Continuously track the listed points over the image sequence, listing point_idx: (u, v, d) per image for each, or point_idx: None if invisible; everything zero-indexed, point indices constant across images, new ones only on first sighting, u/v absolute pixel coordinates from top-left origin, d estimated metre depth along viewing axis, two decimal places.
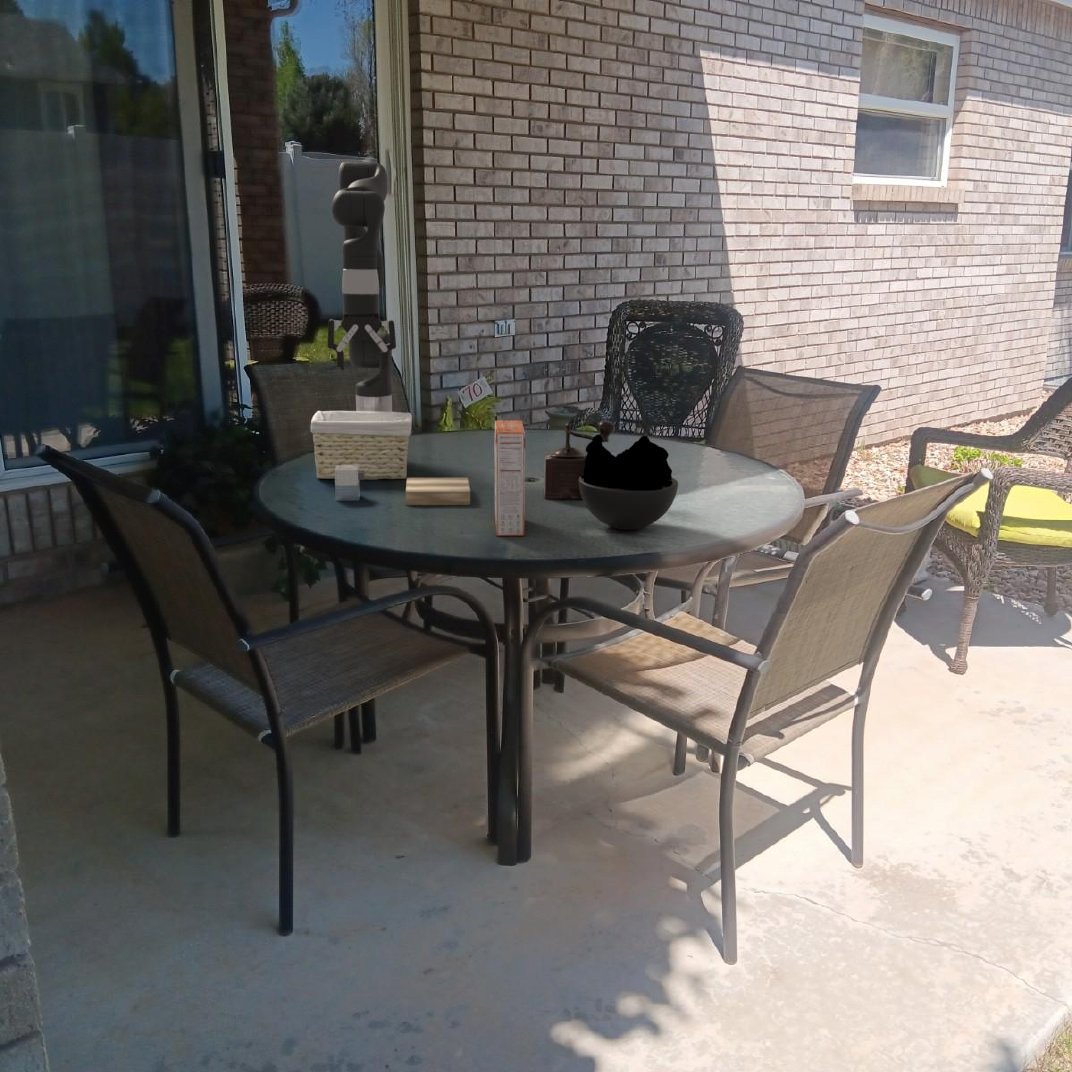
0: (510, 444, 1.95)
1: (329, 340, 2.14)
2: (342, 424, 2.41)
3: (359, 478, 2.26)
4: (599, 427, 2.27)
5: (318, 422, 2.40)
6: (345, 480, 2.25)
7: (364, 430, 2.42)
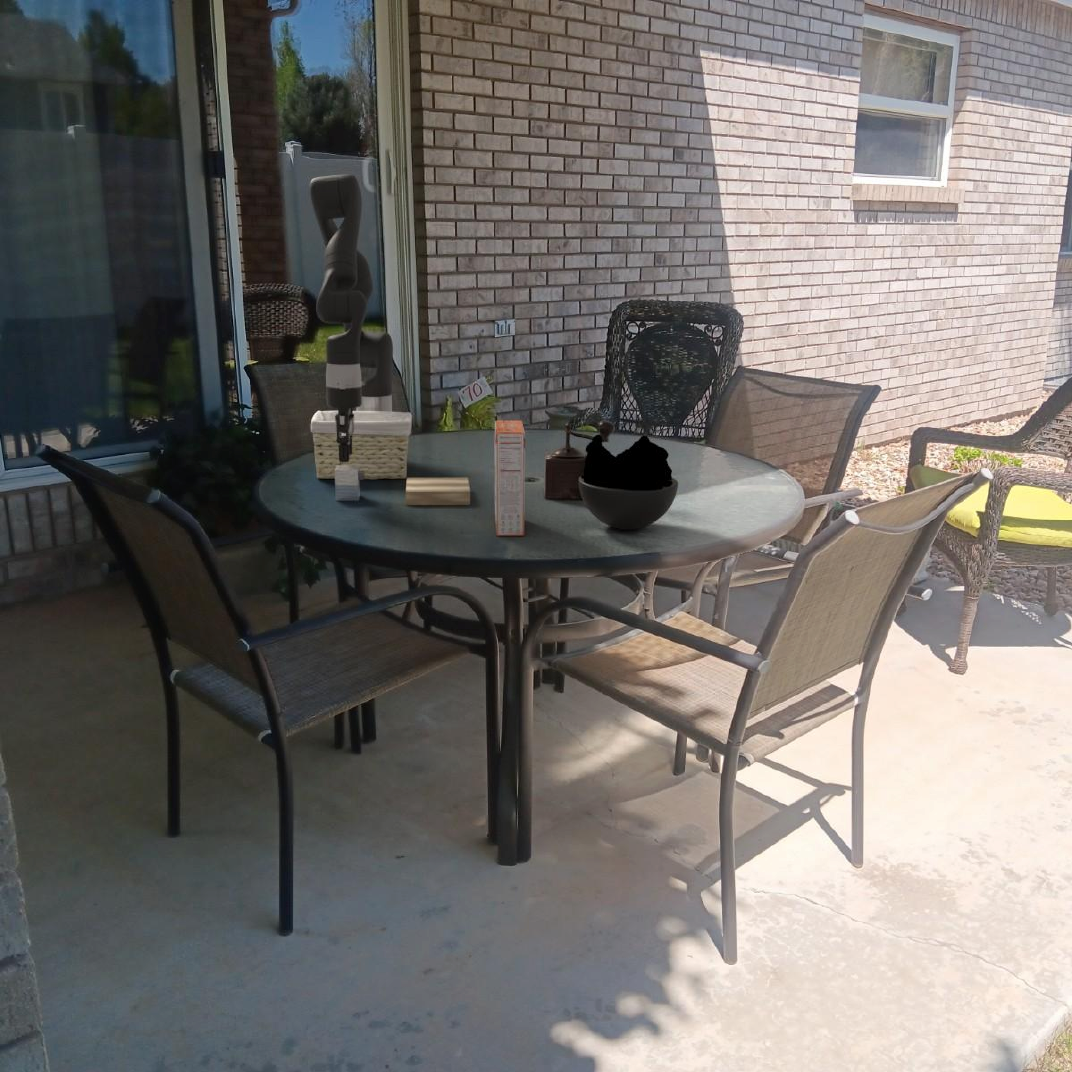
0: (510, 444, 1.95)
1: (348, 435, 2.18)
2: None
3: (359, 478, 2.26)
4: (599, 427, 2.27)
5: (318, 422, 2.40)
6: (345, 480, 2.25)
7: (364, 430, 2.42)
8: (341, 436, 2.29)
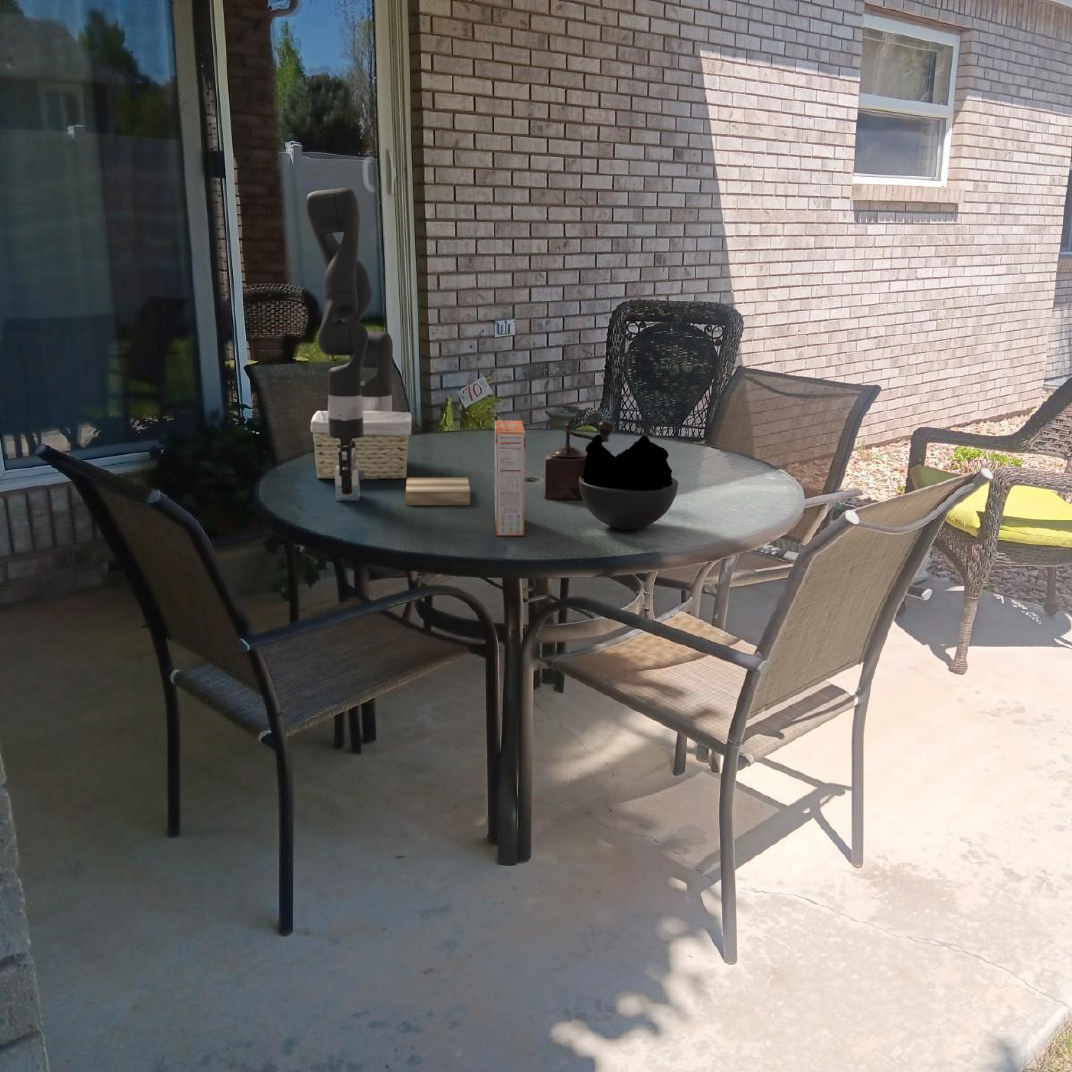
0: (510, 444, 1.95)
1: (350, 469, 2.21)
2: None
3: (359, 478, 2.26)
4: (599, 427, 2.27)
5: (318, 422, 2.40)
6: None
7: (364, 429, 2.42)
8: None
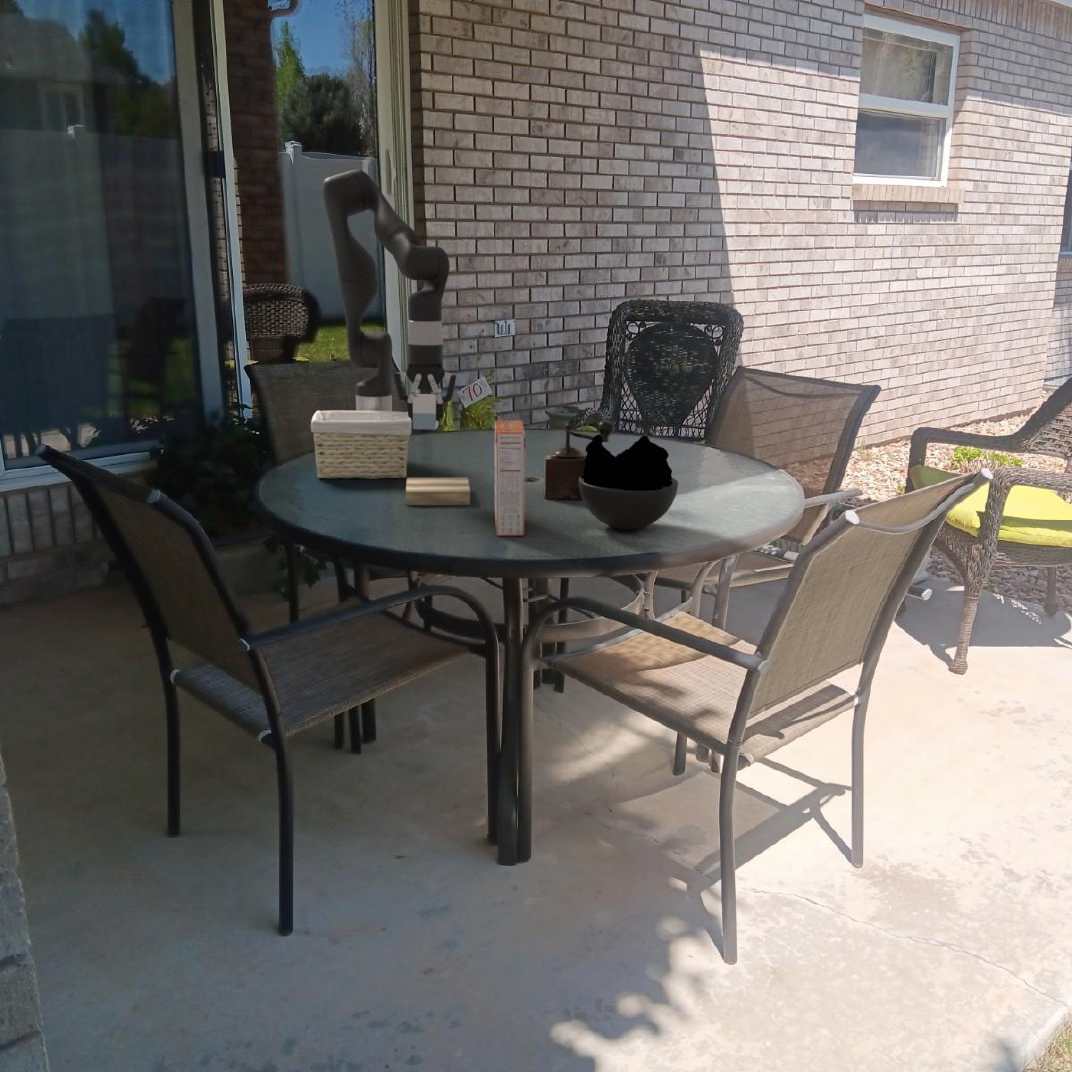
0: (510, 444, 1.95)
1: None
2: (342, 423, 2.41)
3: None
4: (599, 427, 2.27)
5: (319, 422, 2.41)
6: (436, 407, 2.24)
7: (365, 429, 2.43)
8: (412, 401, 2.23)
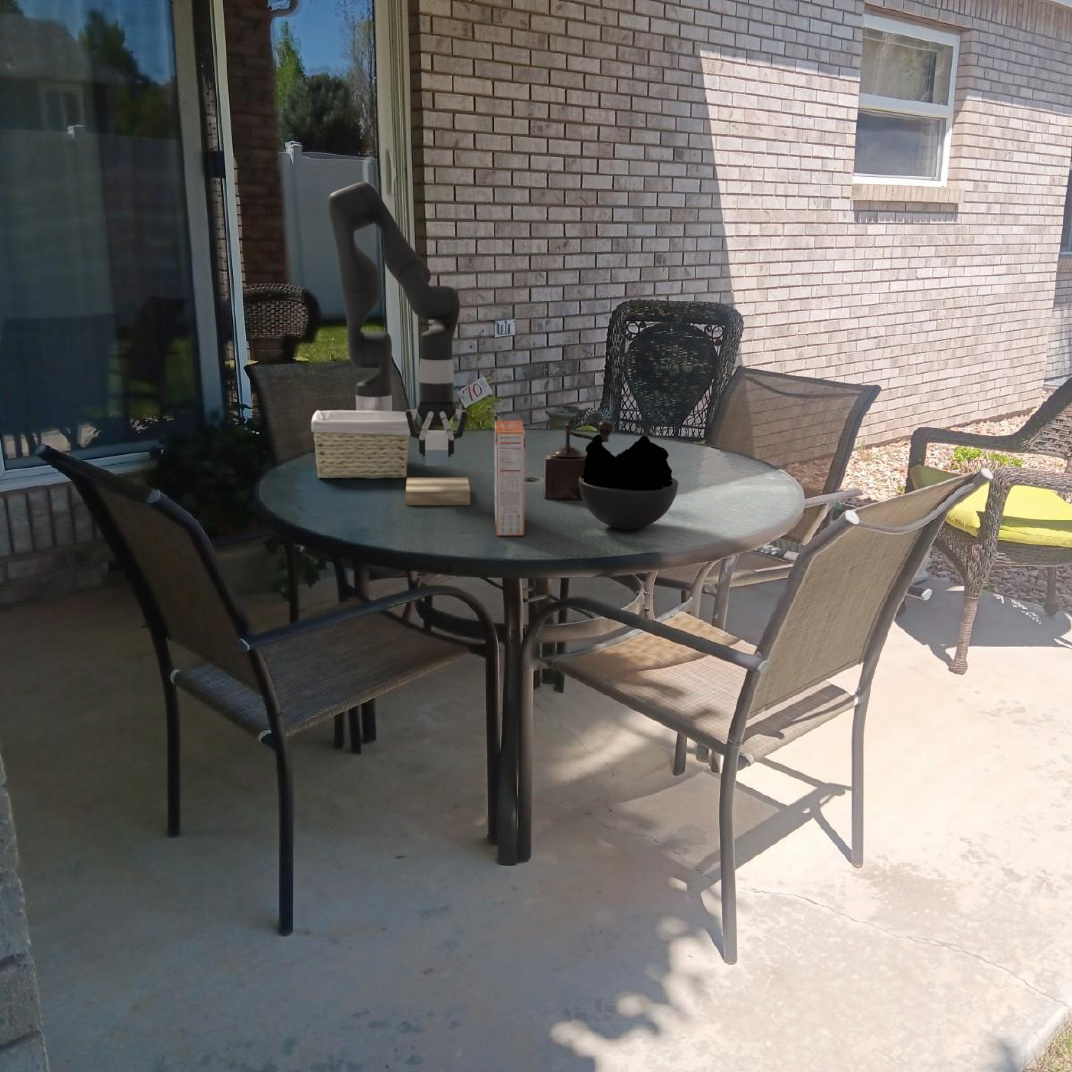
0: (510, 444, 1.95)
1: None
2: (343, 423, 2.41)
3: None
4: (599, 427, 2.27)
5: (319, 422, 2.41)
6: None
7: (365, 429, 2.43)
8: (424, 438, 2.25)
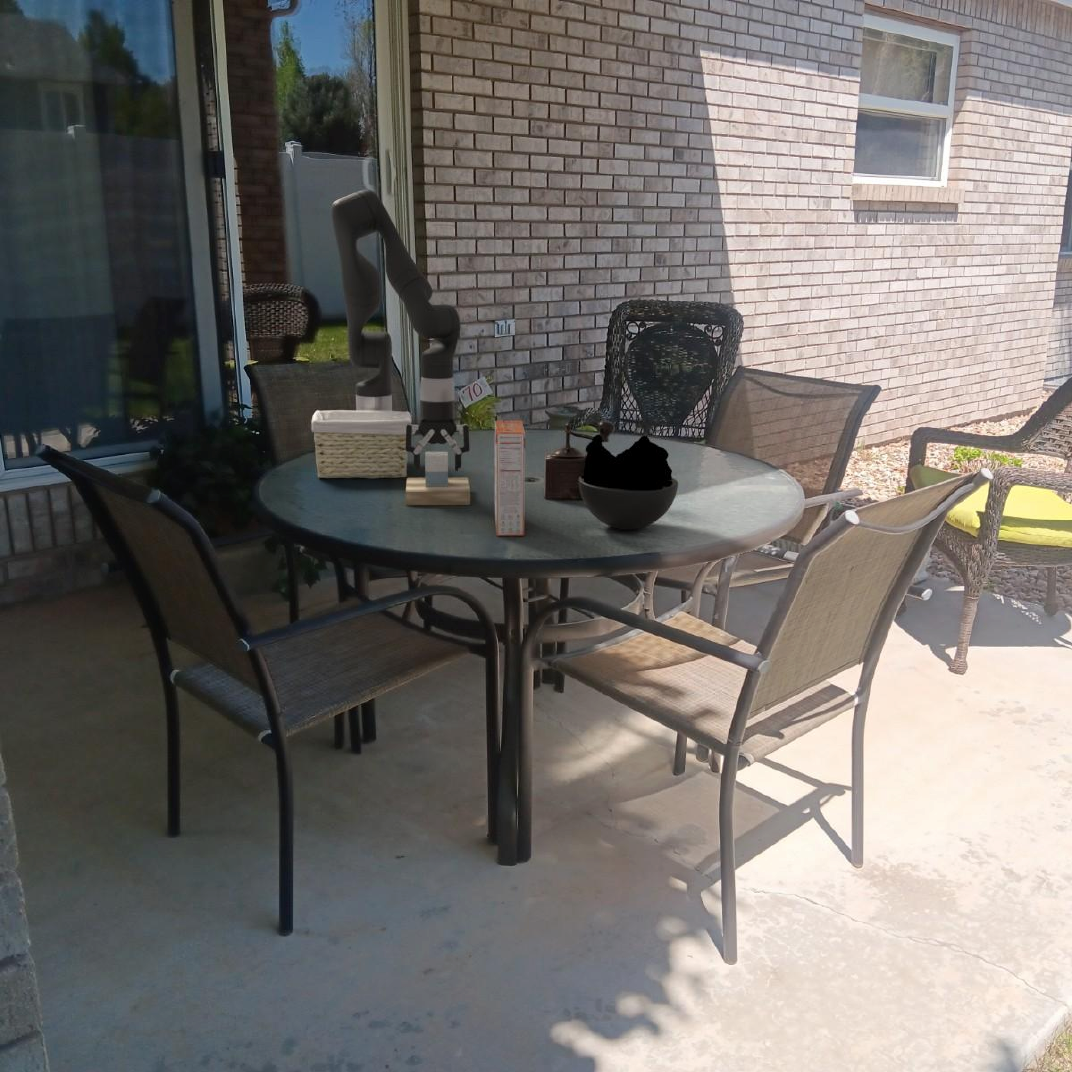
0: (510, 444, 1.95)
1: None
2: (343, 423, 2.42)
3: None
4: (599, 427, 2.27)
5: (319, 421, 2.41)
6: None
7: (365, 429, 2.43)
8: (418, 453, 2.26)
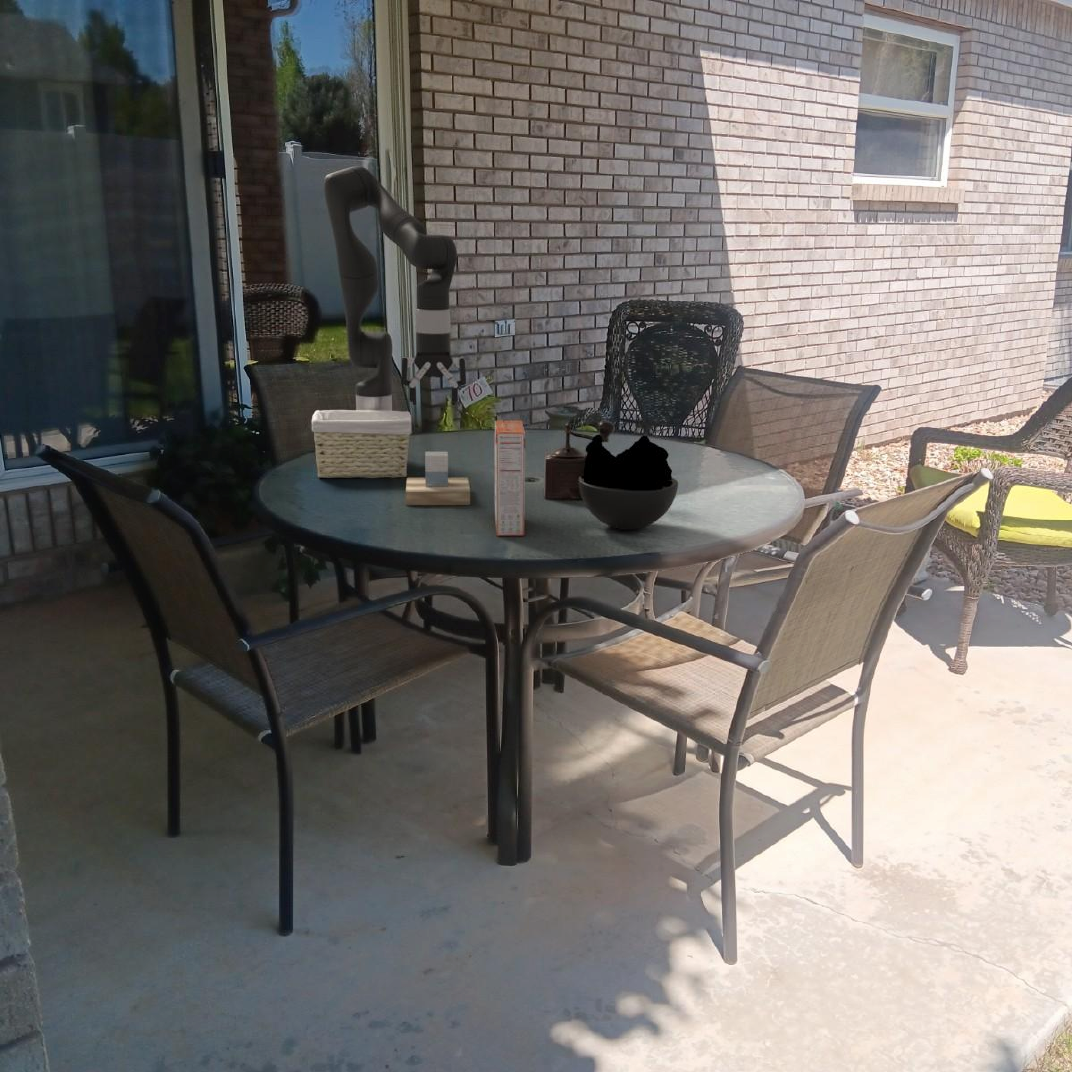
0: (510, 444, 1.95)
1: None
2: (343, 423, 2.42)
3: None
4: (599, 427, 2.27)
5: (319, 421, 2.41)
6: None
7: (365, 429, 2.43)
8: (414, 386, 2.25)
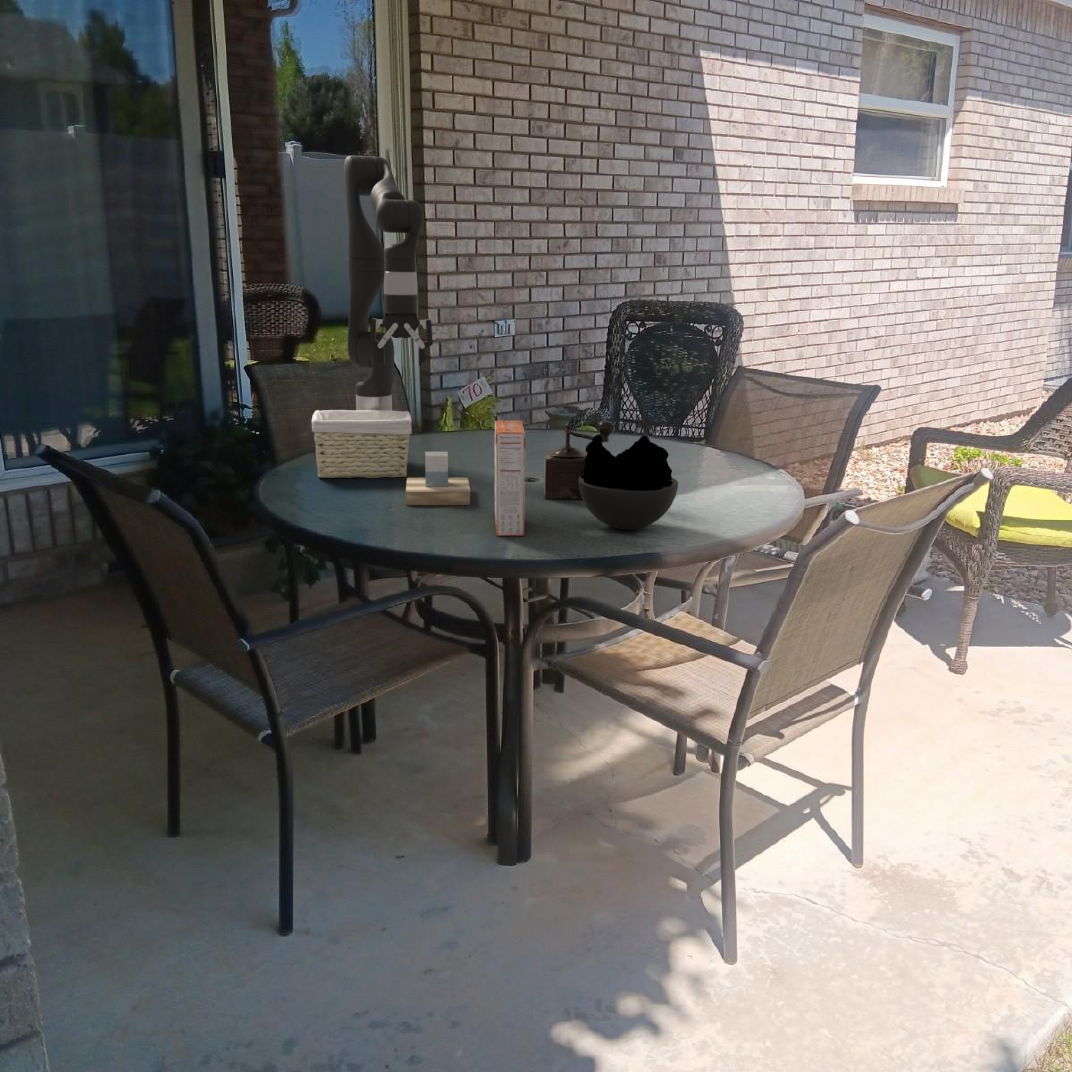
0: (510, 444, 1.95)
1: None
2: (343, 423, 2.42)
3: None
4: (599, 427, 2.27)
5: (320, 421, 2.41)
6: None
7: (366, 429, 2.43)
8: (382, 347, 2.33)
